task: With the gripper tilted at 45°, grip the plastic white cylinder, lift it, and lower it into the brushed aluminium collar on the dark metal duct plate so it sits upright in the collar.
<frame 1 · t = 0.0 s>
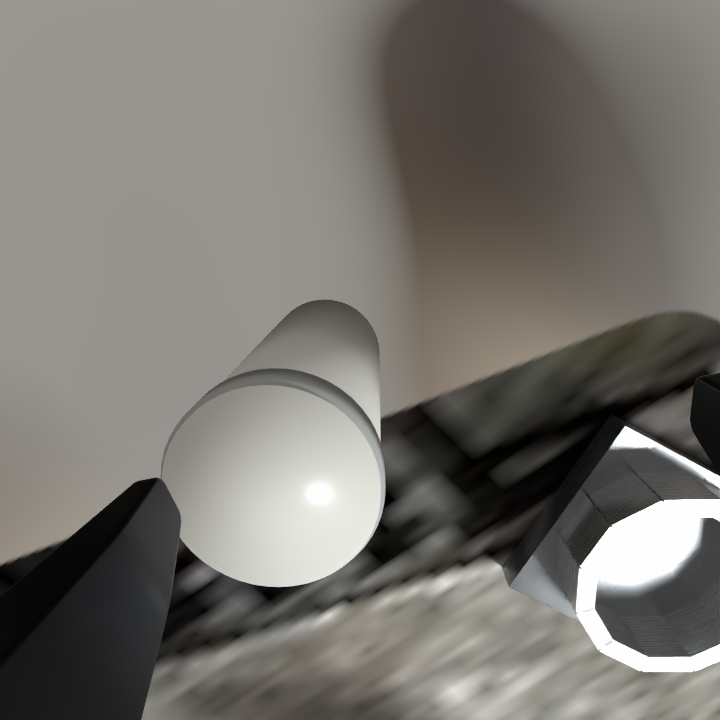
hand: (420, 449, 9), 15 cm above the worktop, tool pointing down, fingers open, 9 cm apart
duct collar: (635, 535, 26), on the worktop
white cylinder: (325, 353, 24), on the worktop
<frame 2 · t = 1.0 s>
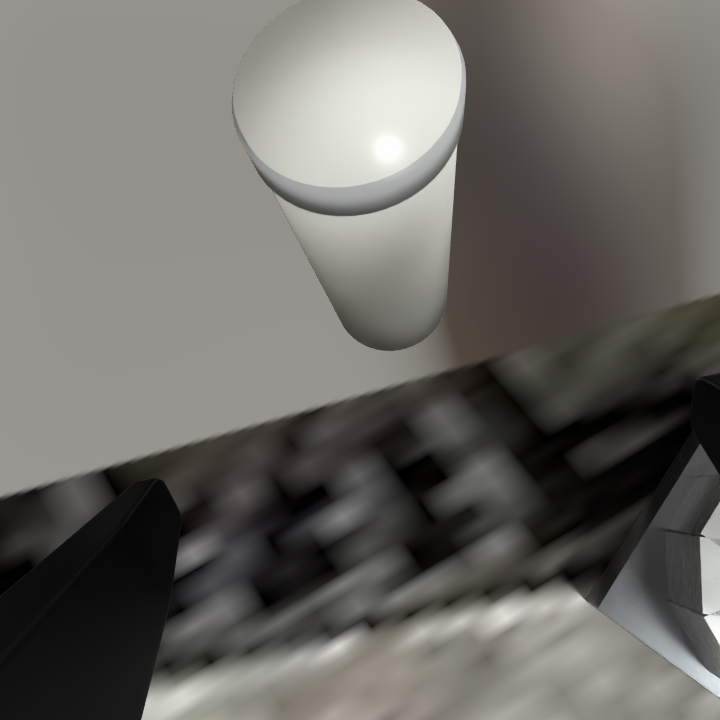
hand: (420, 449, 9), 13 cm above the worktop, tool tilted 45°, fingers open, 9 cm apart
white cylinder: (390, 297, 24), on the worktop
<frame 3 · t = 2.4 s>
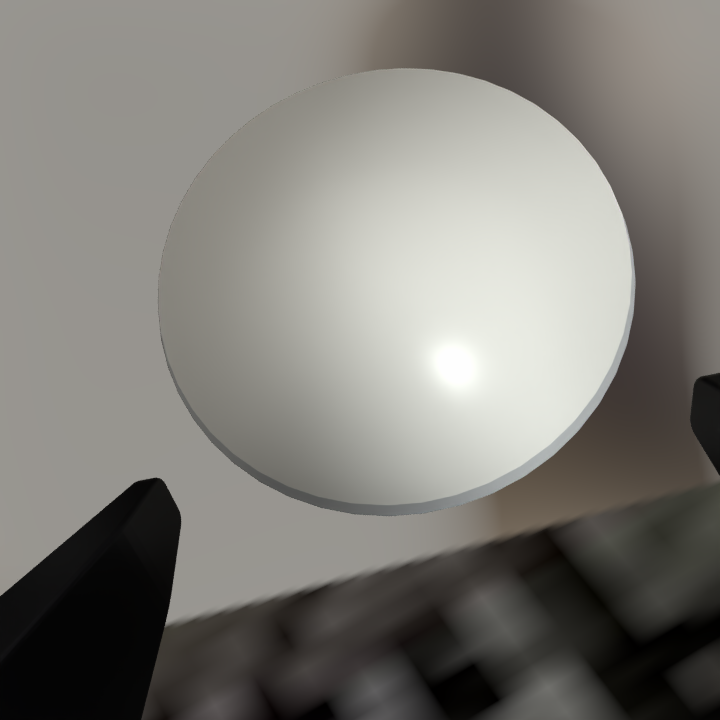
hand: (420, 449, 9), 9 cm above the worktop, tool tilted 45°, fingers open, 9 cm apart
white cylinder: (418, 431, 18), on the worktop
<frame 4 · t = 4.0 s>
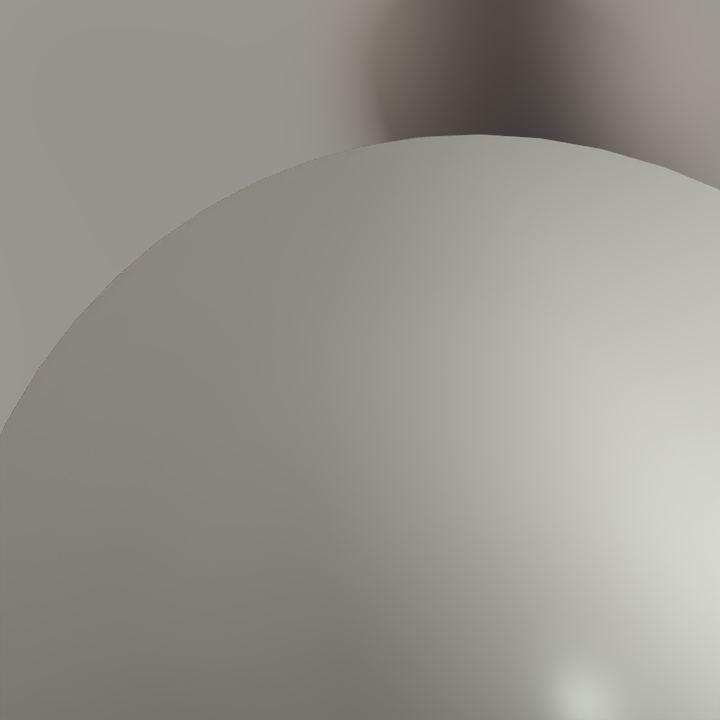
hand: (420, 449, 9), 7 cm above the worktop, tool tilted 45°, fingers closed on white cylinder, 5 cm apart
white cylinder: (435, 521, 15), on the worktop, touching gripper
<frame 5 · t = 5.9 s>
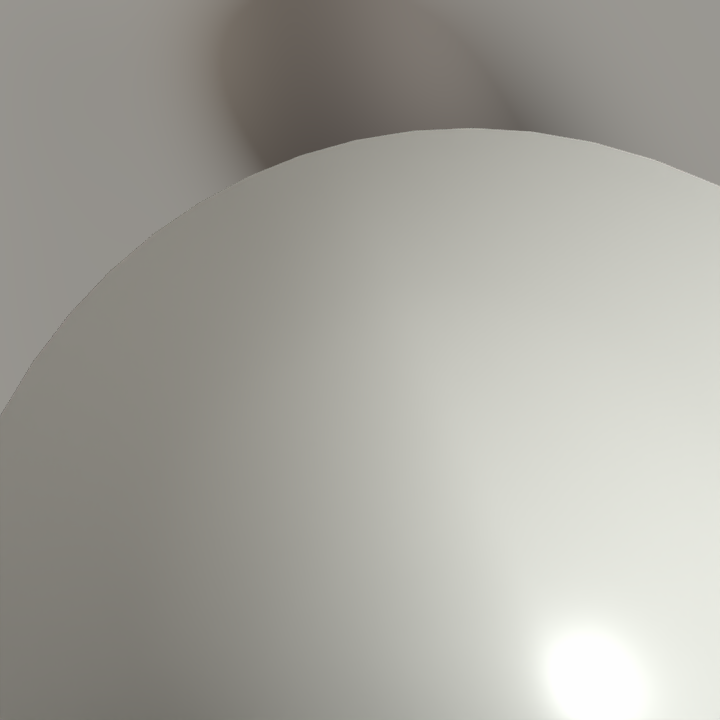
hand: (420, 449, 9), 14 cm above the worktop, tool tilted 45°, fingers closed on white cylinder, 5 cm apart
white cylinder: (434, 519, 15), point 7 cm above the worktop, touching gripper
when the fingers open (9 cm above the worktop, at t = 8.1 s): white cylinder stays where it is, resting on duct collar.
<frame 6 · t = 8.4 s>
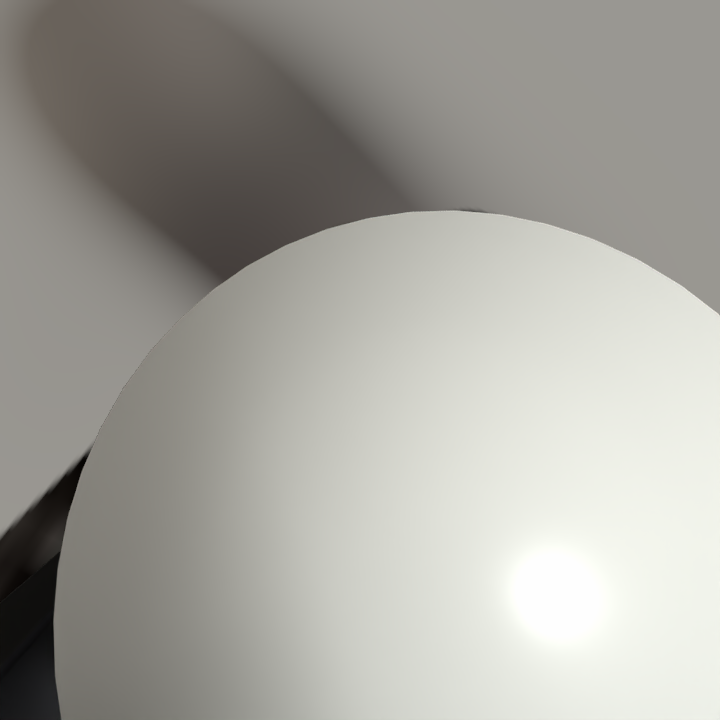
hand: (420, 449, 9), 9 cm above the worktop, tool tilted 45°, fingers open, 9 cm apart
white cylinder: (435, 521, 16), point 2 cm above the worktop, touching duct collar
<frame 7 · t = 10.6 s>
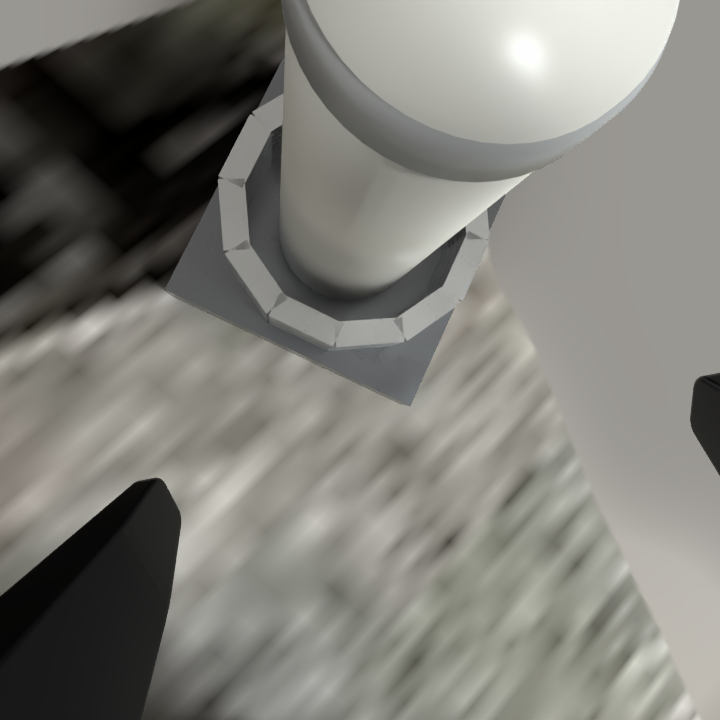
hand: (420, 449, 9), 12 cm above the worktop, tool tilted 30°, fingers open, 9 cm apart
duct collar: (343, 241, 21), on the worktop
white cylinder: (348, 232, 19), point 2 cm above the worktop, touching duct collar
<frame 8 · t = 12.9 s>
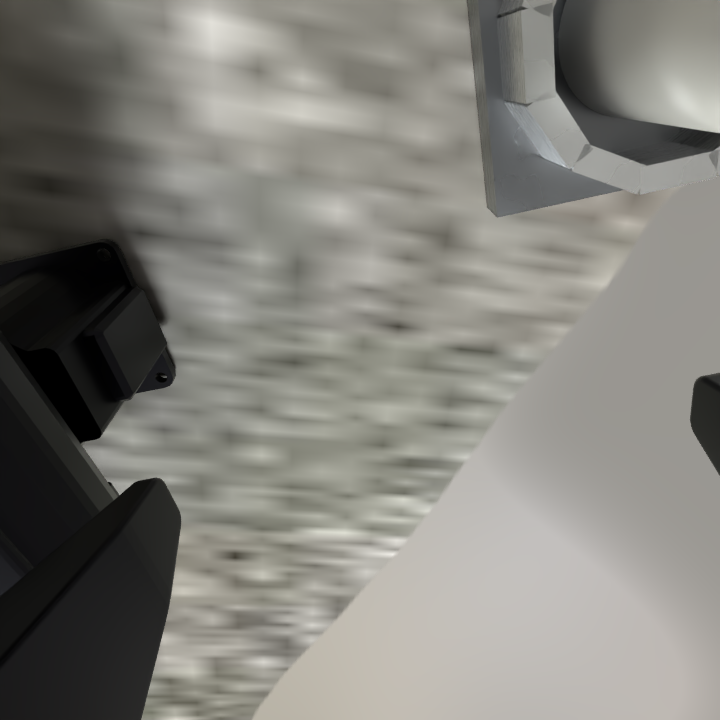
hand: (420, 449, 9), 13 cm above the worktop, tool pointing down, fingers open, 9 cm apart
duct collar: (620, 29, 17), on the worktop
white cylinder: (642, 25, 16), point 2 cm above the worktop, touching duct collar
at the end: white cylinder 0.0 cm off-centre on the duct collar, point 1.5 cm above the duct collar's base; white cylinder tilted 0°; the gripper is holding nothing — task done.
